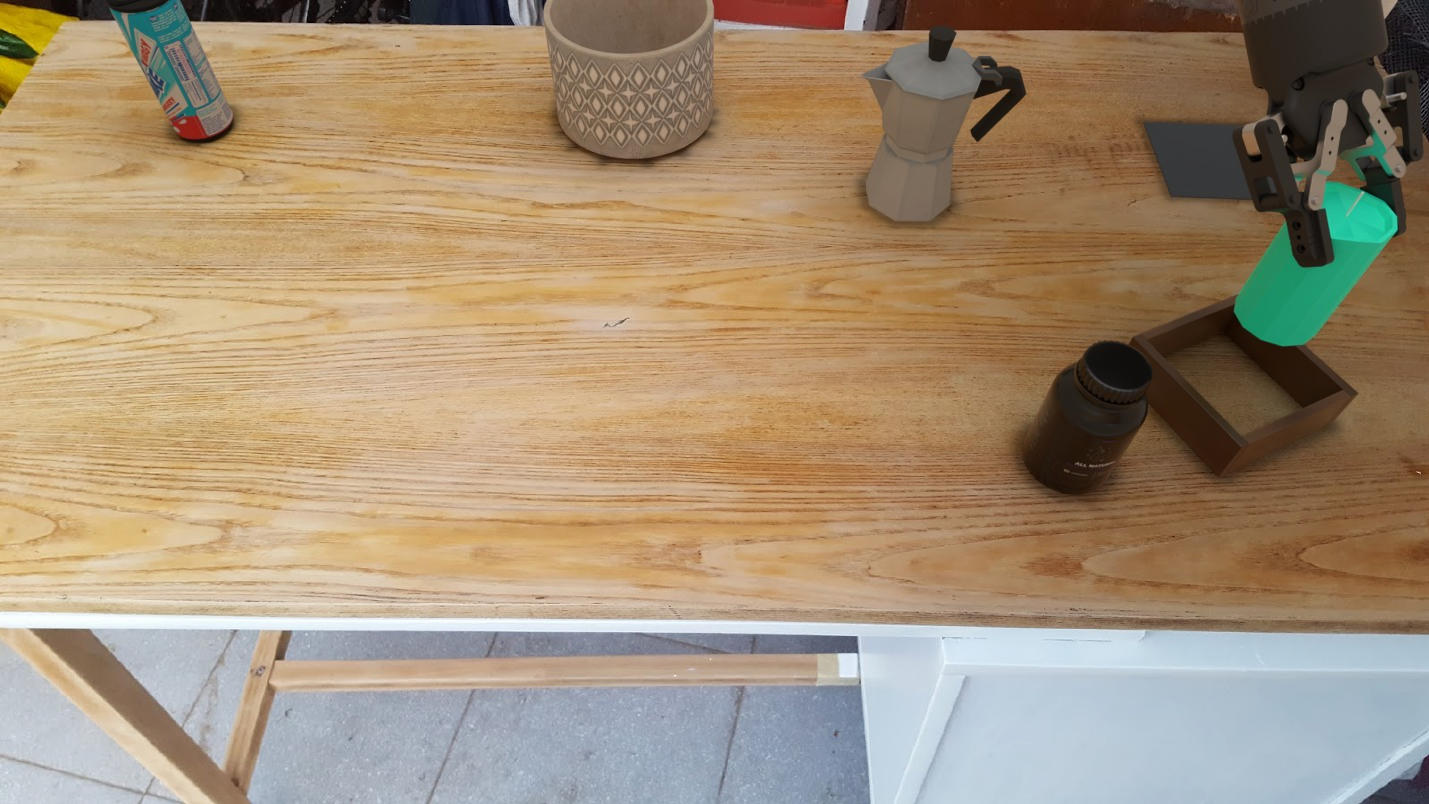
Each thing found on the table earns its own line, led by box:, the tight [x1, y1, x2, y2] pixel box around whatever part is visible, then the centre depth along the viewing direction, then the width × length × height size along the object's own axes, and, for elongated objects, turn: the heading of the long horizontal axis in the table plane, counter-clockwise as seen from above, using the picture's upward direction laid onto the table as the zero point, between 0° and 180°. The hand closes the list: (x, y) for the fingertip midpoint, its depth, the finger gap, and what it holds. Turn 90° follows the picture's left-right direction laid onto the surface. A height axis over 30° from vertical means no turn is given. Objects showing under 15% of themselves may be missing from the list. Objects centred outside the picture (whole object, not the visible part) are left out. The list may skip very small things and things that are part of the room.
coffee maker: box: [860, 24, 1027, 222], centre depth 87 cm, size 15×9×18 cm, turn 91°
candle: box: [1234, 180, 1397, 346], centre depth 66 cm, size 6×6×12 cm
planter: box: [542, 0, 715, 160], centre depth 96 cm, size 16×16×13 cm
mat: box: [1143, 121, 1277, 201], centre depth 97 cm, size 12×12×1 cm
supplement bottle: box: [1021, 339, 1153, 496], centre depth 70 cm, size 7×7×12 cm
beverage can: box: [105, 0, 234, 143], centre depth 94 cm, size 6×6×15 cm
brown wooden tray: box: [1128, 294, 1359, 478], centre depth 77 cm, size 12×12×5 cm
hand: (1352, 249), depth 64 cm, fingers closed on candle, 6 cm apart
